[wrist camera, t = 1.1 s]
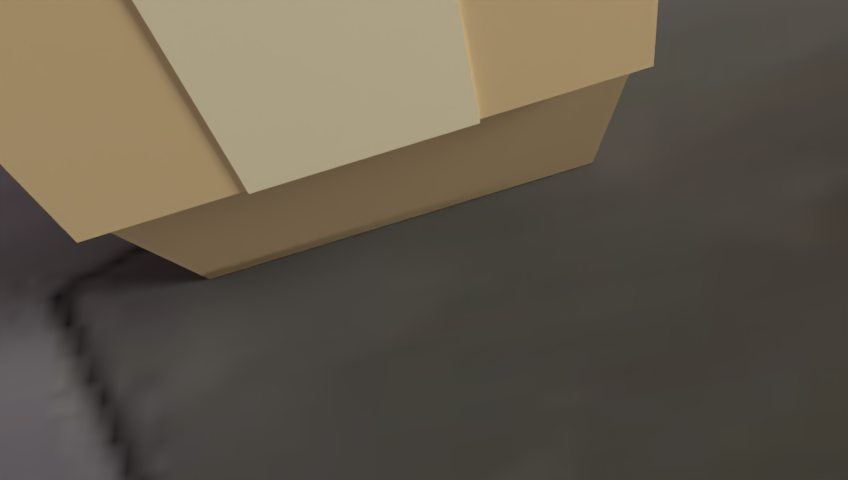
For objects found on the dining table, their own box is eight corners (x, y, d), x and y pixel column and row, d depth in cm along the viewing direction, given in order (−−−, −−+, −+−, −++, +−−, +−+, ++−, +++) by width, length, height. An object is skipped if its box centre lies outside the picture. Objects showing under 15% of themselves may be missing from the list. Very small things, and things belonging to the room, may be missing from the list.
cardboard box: (592, 163, 24) (640, 44, 16) (209, 279, 24) (77, 217, 17) (492, -118, 26) (492, -340, 19) (142, -9, 27) (-4, -183, 19)
